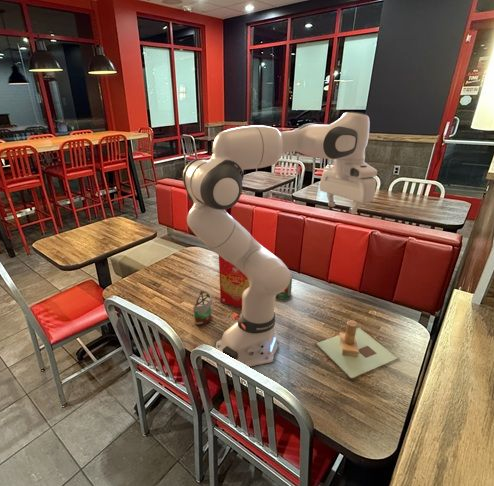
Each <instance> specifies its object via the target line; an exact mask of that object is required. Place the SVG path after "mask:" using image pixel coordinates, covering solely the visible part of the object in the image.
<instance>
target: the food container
mask: <svg viewBox="0 0 494 486" xmlns="http://www.w3.org/2000/svg"><path fill="white" fill-rule="evenodd" d="M212 305H213V298H212V296H211V294H210V293H209V292H208V291H206V290H201V289H200V291H199V296H198V298H197V299H196V302H195V305H194V306H193V307H192V308H193V309H192V311H193V313H194V321H195V326H204V325H206V324H208V323H209V322H210V321H211V318H212V317H211V313H212Z"/></svg>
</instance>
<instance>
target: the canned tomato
mask: <svg viewBox="0 0 494 486" xmlns="http://www.w3.org/2000/svg"><path fill="white" fill-rule="evenodd" d="M292 284H293V274H292V273H291V280H290V283H289V285H288V287H287V288H286V289H285V290H284V291H282V292H281V293H279V294H277V295H276V298H275V301H276V300H277V301H279V302H287V301H289V300H291V299H292V289H293V288H292V286H293V285H292Z"/></svg>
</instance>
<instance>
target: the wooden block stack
mask: <svg viewBox="0 0 494 486" xmlns="http://www.w3.org/2000/svg"><path fill="white" fill-rule="evenodd" d="M357 328H358V323H357V322H356V321H355V320H348V321H347V322H346V326H345V331H344V332H343V331H339V334H338V335H339V340H340V346H341V351H342V355H346V356H354V357H358V354H359V350H358V346H357V342H356V338H355V334H356V329H357Z"/></svg>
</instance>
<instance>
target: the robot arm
mask: <svg viewBox="0 0 494 486" xmlns="http://www.w3.org/2000/svg"><path fill="white" fill-rule="evenodd" d="M370 123H371V121H370V117H369V116H368V114H365V113H363V112H355V111H347V112H343V114H342V115H341V116H340V118H338V119H337V120H335V121H333V122H331V123H330V124H319V123H318V124H317V123H304V124H302V125H300V126H299V127H298V128H295V129H293V130H284V131H283V130H282V131H280V130H279V129H278V128H276V127H274V126H273V127H272V126H267V125H246V126H239V127H233V128H229V129H226V130H222V131H221V132H220V131H219V133H218V134H217V135H216V136H215V137H214V139H213V140H214V141H213V143H212V154H211V157H210V158H209V159H207V158H195V159H193V160H191V161H190V162H188V163H187V164H186V166H184V169H183V170H182V171H183V172H182V182H183V185H184V188H185V191H186V194H187V198H188V200H189V201H191V202H193V204H192V206H191V208H190V209H189V211H188V213H187V216H186V223H187V227H188V228H189V229H190V231H192V233H193V234H194V235H195V236H196V237H197V238H198V239H199V240H200V241H201V242H202V243H203V244H204V245H205V246H206V247H208V248H209V249H210V250H212V251H213V252H214V253H215V254H217V255H218V257H219V256H221V257H222V258H223V259H224V260H226V261H228V262H230V263H231V264H233V265H234V266H235V267H237V268H238V269H239V270H240V271H241V272H242V273H243V274H244V275H245V276H246V277H247V278H248V280H249V287H248V288H247V289H246V290H245V291H244V292H243V294H242V307H241V311H240V314H238V312H234V313H232V315H231V317H232V318H233V321H235V322H234V323H233V324H232V325H230V327H228V328H227V329H226V330H225V331H224V332H223V334H222V336H221V338H220V339H219V340H217V341H216V342H215V349H216V348H217V349H219V350H221V351H222V352H223V353H225V354H227V355H229V356H230V357H232V358H234V359H236V360H238V361H240V362H242V363H244V364H246V365H247V366H249V367H254V366H259V365H260V366H261V365H264V364H269V363H273V362H274V355H275V354H276V352H277V351H278V342H277V337H276V333H275V325H276V312H275V307H276V299H275V298H276V295H277V294H279V293H281V292H282V291H284V290H285V289H286V288H287V287H288V285H289V283H290V280H291V274H292V273H291V271H290V269H289V267H288V266H287V265H286V264H285V263H284V262H283V260H282V259H281V258H279V257H278V256H277V255H275V254H274V253H273V252H271V251H270V250H269V249H267V248H266V247H264V246H263V245H262V244H261V243H260V242H259V241H257V240H256V239H255V238H254V236H253V235H252V233H250V231H248V230H247V229H246V228H245V227H244V226H243V225H242V224H241V223H240V222H239V221H237V220H236V219H235V217H233V216H232V215H231V214H229V213H228V212H227V211H226V210H228V209H231V208H233V207H235V205H236V204H237V203H238V202H239V200H240V198H241V195H242V193H243V180H244V177H245V175H244V170H255V169H262V168H267V167H270V166H273V165H275V164H277V163H278V161H279V160H280V159H281V157H282V154H285V153H293V152H294V153H296V154H298V155H301V156H304V157H314V158H318V159H319V158H320V159H326V160H333V164H328V163H327V165H325V166H324V167H323V170H322V171H323V172H322V174H321V177H320V182H319V190H320V191H321V192H322V193H326V198H327V201H328V204H327V206H328V207H330V208H334V207H335V206H336V200H335V199H334V197H335V196H337V197H340V198H344V199H347V200H350V201H352V204H353V205H352V207H349V209H348V213H349V214H351V215H356V214H357V211H358V209H359V208H360V206H361V205H362V204H368V203H371V202H372V201H373V200H374V198H375V193H376V187H377V181H376V178H375V177H377V175H378V170H377V168H375V167H373V166H371V164H368V163H367V162H366V161H365V160H366V153H365V152H366V147H367V146H368V142H369V136H370V125H371V124H370Z"/></svg>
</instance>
